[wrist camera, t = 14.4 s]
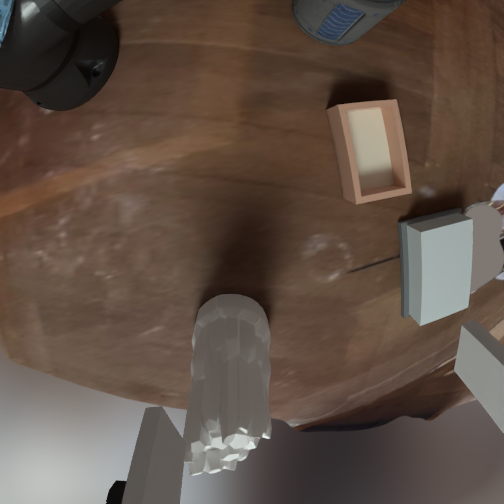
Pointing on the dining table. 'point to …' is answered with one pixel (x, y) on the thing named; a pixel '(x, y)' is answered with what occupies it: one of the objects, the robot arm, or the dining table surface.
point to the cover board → (439, 266)
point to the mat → (405, 256)
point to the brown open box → (370, 150)
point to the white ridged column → (227, 384)
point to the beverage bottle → (340, 18)
